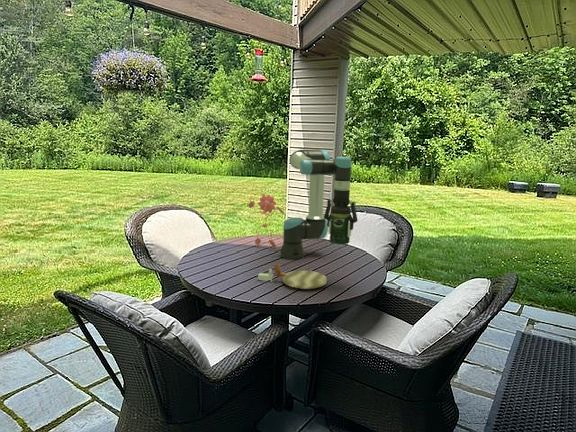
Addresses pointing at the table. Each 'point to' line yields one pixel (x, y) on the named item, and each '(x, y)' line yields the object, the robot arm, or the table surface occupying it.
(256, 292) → the table surface
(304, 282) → the turntable
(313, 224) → the robot arm
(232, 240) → the table surface
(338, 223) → the coffee jar
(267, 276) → the pale green block
